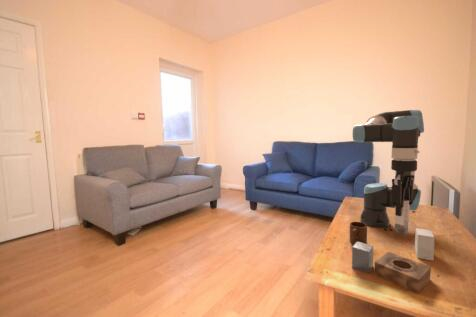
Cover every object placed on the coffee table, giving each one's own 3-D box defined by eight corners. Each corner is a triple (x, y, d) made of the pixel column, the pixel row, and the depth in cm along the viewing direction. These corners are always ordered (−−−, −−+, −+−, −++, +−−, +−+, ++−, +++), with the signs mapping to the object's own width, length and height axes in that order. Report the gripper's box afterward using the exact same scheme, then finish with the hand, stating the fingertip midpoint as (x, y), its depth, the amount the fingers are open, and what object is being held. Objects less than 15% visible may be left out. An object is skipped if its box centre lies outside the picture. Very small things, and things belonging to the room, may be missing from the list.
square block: (352, 267, 93) (352, 246, 92) (356, 261, 98) (357, 241, 97) (368, 273, 89) (368, 251, 88) (372, 266, 93) (373, 246, 92)
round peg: (392, 231, 86) (393, 200, 84) (397, 228, 88) (398, 198, 87) (405, 234, 82) (406, 202, 81) (409, 231, 85) (410, 200, 83)
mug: (362, 251, 105) (362, 232, 104) (344, 246, 110) (345, 228, 109) (368, 241, 114) (368, 223, 113) (352, 237, 119) (352, 220, 118)
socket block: (374, 274, 89) (374, 261, 88) (387, 262, 96) (388, 251, 95) (418, 293, 77) (418, 279, 77) (430, 279, 84) (430, 266, 84)
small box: (433, 261, 95) (435, 237, 94) (416, 258, 98) (417, 234, 97) (430, 252, 102) (431, 230, 101) (414, 249, 105) (415, 227, 104)
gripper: (406, 162, 74) (404, 231, 77) (425, 158, 84) (422, 219, 86) (381, 161, 81) (380, 225, 83) (401, 156, 90) (399, 214, 93)
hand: (401, 222), depth 85 cm, fingers closed on round peg, 4 cm apart
